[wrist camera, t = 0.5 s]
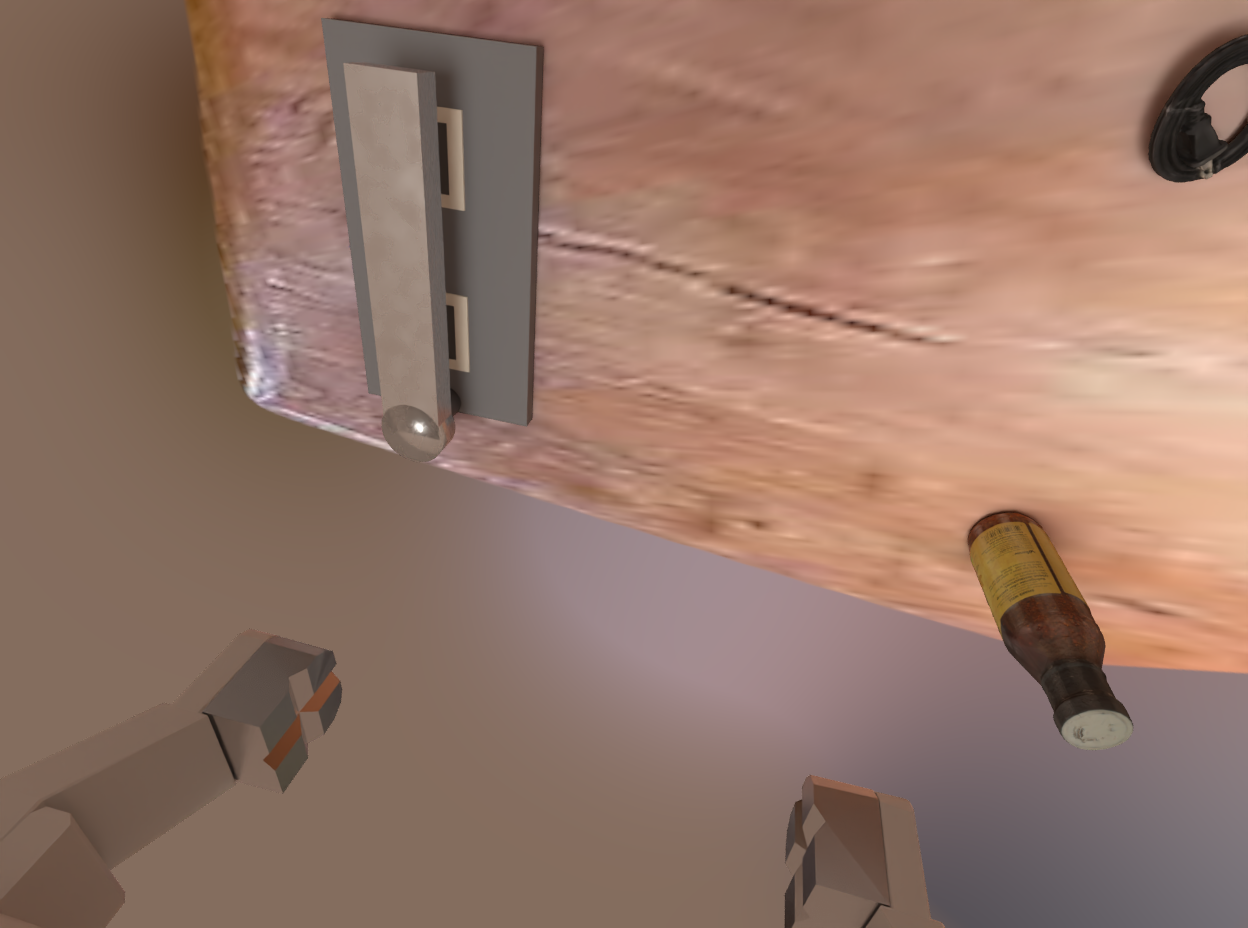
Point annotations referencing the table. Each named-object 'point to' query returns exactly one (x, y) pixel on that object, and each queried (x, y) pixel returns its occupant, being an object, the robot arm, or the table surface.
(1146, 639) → the table surface
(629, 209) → the table surface
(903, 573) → the table surface
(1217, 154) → the milk frother
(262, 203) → the table surface
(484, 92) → the label board
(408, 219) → the grey flat bar
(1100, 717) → the sauce bottle
